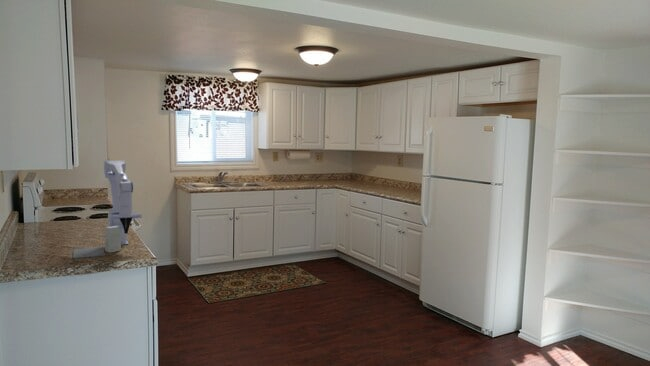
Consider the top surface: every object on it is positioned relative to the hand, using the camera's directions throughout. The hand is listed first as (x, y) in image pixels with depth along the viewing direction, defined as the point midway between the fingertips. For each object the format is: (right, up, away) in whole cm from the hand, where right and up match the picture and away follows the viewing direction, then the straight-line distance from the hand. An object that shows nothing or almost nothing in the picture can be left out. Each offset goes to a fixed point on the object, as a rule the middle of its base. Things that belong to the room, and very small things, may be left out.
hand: (126, 233), depth 228 cm
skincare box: (-6, -9, -2) cm, 11 cm away
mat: (-15, -9, -7) cm, 19 cm away
